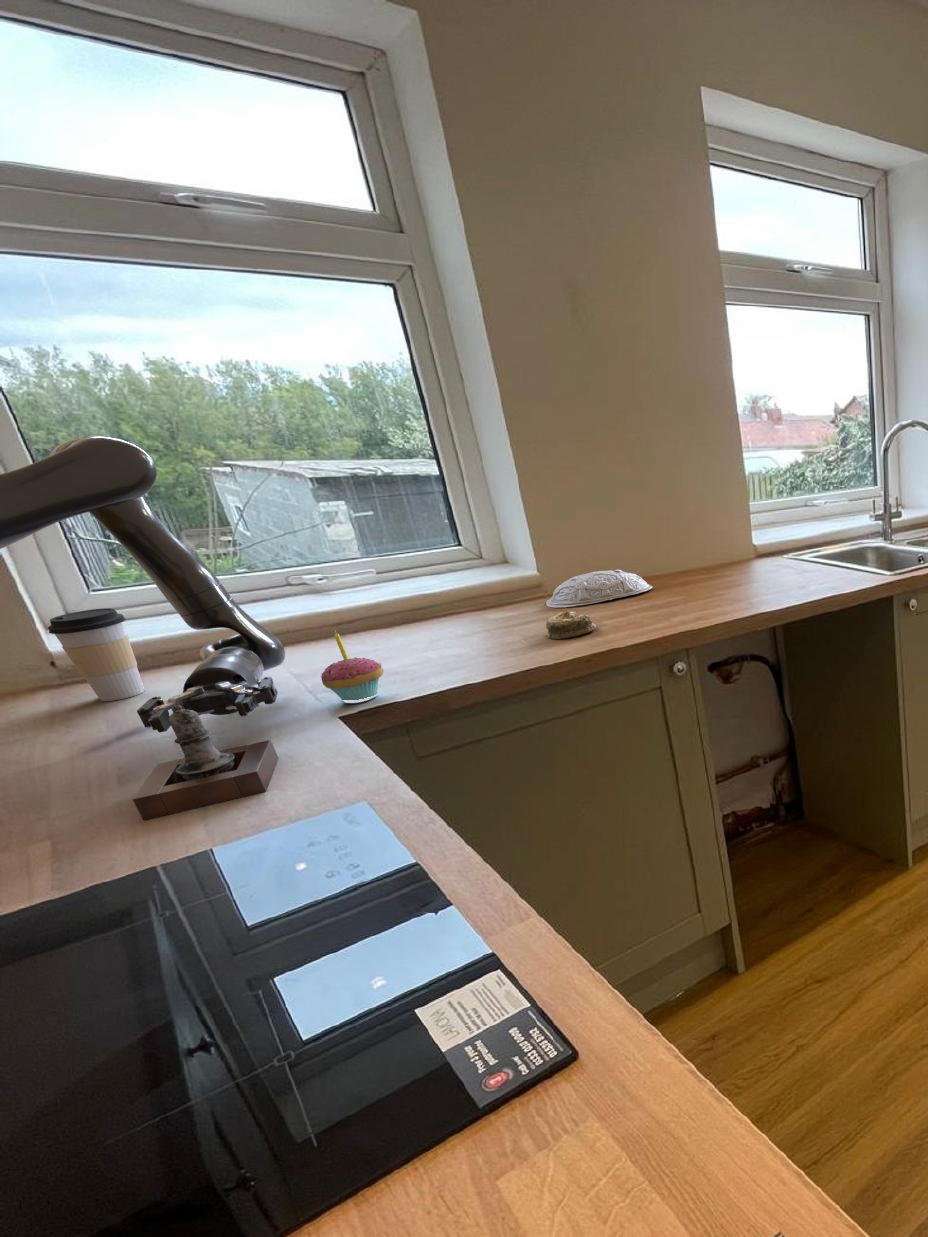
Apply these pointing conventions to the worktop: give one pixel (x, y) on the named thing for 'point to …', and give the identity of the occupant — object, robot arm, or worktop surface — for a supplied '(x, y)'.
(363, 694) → the cupcake
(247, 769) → the brown rectangular frame
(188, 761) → the grey stone finial
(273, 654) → the robot arm
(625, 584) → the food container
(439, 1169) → the worktop surface
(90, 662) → the coffee cup
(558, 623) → the cake
